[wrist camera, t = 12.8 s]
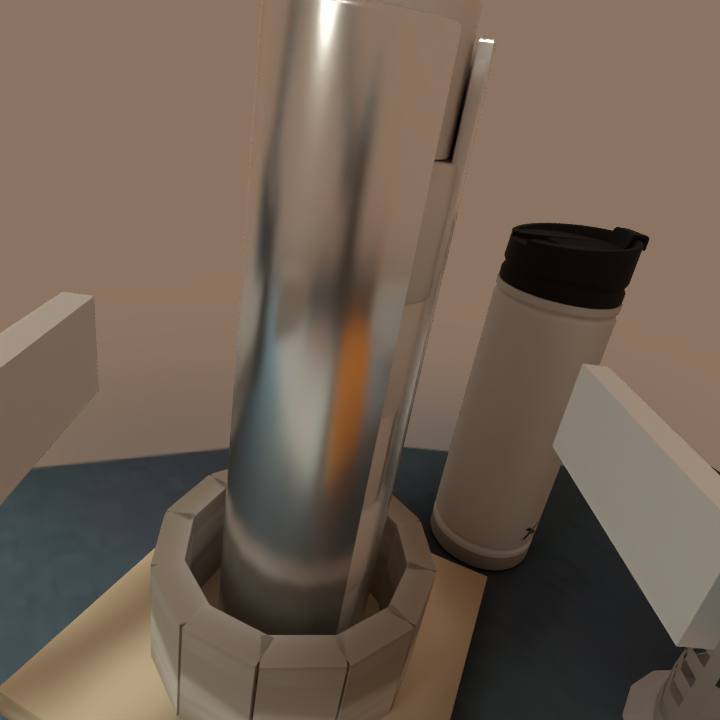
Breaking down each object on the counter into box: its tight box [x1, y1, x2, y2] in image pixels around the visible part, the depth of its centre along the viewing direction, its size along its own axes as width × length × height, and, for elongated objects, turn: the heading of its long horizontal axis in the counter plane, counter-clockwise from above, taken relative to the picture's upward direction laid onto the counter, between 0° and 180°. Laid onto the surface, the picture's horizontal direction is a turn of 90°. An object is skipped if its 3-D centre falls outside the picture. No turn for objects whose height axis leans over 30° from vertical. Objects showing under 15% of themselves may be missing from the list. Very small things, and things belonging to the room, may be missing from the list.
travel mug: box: [430, 223, 649, 570], centre depth 31 cm, size 6×7×20 cm
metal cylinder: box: [218, 0, 496, 635], centre depth 20 cm, size 6×6×25 cm
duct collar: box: [0, 469, 487, 720], centre depth 24 cm, size 16×16×6 cm
